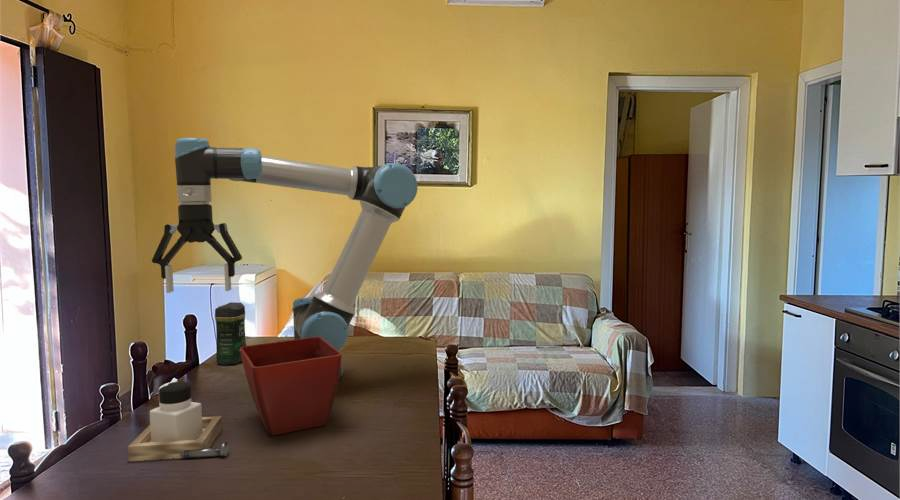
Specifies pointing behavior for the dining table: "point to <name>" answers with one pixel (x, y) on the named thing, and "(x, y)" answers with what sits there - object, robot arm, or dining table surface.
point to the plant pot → (292, 382)
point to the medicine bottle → (176, 414)
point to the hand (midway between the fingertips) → (199, 291)
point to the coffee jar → (230, 332)
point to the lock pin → (206, 452)
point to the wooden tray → (173, 443)
